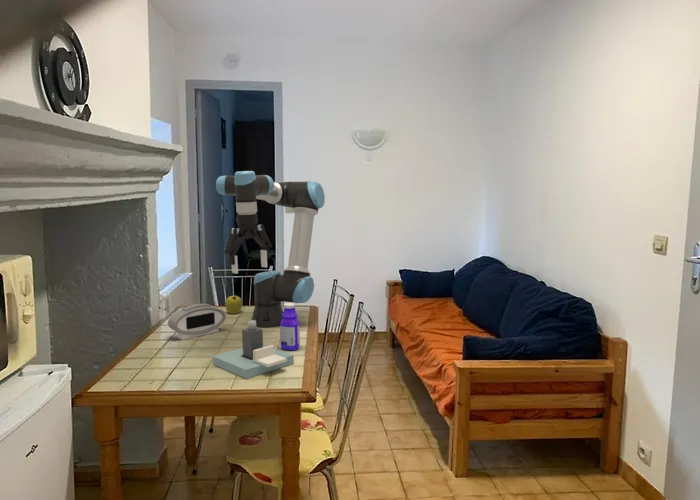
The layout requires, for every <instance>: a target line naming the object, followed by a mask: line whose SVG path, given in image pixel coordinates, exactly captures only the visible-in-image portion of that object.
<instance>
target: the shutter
mask: <svg viewBox="0 0 700 500" xmlns="http://www.w3.org/2000/svg"><path fill="white" fill-rule="evenodd" d="M265 346H266V347H263V348H259V349H256V350H253V362H255V363H258V364H261V365H263V366H266V367H270V366H273V365H277V364H280V363H283V362H286V361H287V358H284V357H281V356H278V355H276V354H275V349H276V348H275V345H273V344H271V345H265Z"/></svg>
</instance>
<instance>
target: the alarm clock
mask: <svg viewBox="0 0 700 500" xmlns="http://www.w3.org/2000/svg"><path fill="white" fill-rule="evenodd" d="M226 317H227V314H226V312H225V311H224V310H223V309H221V308H218V307H216V306H213V305H212V304H208V303H193V304H191V305H187V306H185V307H183V308H180V309H179V310H177V311H175V312H174V313H173V314H172V315H170V317H169V318H168V320H167V325H168V327H169V328H170V329H171V330H173V331H175V332H177V334H176V338H177V339H179V340H182V341H183V340H186V339H187V340H188V339H192V338H197V337H201V336H206V335H210V334H215V333H216V334H217V333H219V332H220V329H219V327H220V326H222V324H223V323H224V322H225V321H226Z"/></svg>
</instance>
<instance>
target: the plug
mask: <svg viewBox="0 0 700 500" xmlns="http://www.w3.org/2000/svg"><path fill="white" fill-rule="evenodd" d="M241 334H242V335H241V336H242V337H241V339H242V348H243V357H244V358H247V359H249V360H253V350H256V349H259V348H263V345H264V337H263V336H264V335H263V329H262V328H260V327H257V326H256V320H251V319H250V320H247V328H242V329H241Z"/></svg>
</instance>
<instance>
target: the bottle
mask: <svg viewBox="0 0 700 500" xmlns="http://www.w3.org/2000/svg"><path fill="white" fill-rule="evenodd" d="M283 312H284V313H283V314H282V317H283V318H282V321H281V323H280V325H279V327H280V332H279V333H280V339H279V340H280V348H281V349H282V350H286V351H296V350H298V349H299V347H300V345H301V344H300V341H301V340H300V339H301V338H300V336H301V334H300V331H301V330H300V327H301V326H300V320H299V319H298V314H297V312H296V303H293V302H285V303H284V304H283Z"/></svg>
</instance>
